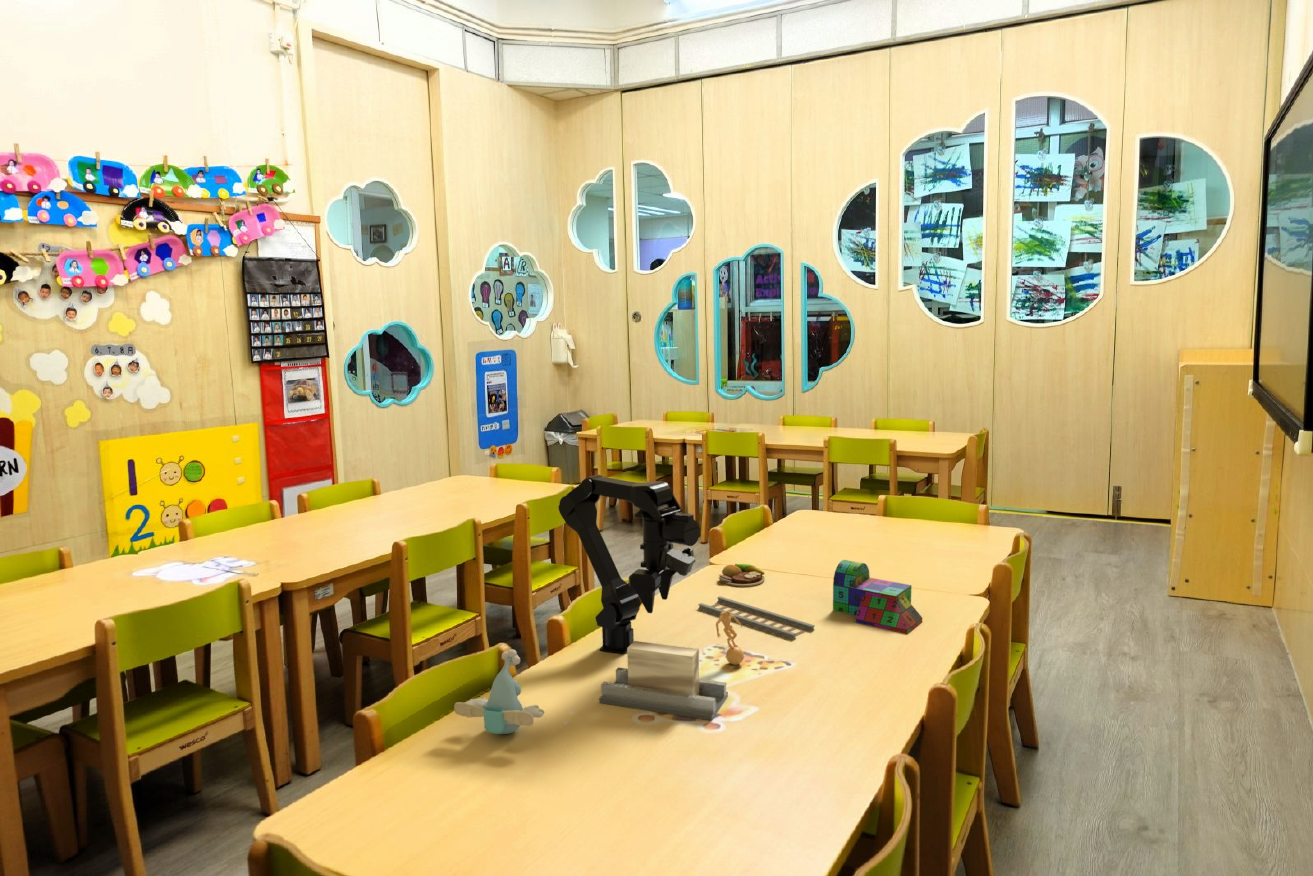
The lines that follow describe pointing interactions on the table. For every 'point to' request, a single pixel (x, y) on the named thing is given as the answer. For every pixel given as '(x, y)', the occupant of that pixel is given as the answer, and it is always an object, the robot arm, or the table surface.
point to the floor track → (665, 697)
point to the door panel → (663, 667)
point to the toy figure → (501, 703)
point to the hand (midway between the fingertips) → (657, 606)
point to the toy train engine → (873, 598)
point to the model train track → (756, 624)
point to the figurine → (730, 638)
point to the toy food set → (742, 575)
